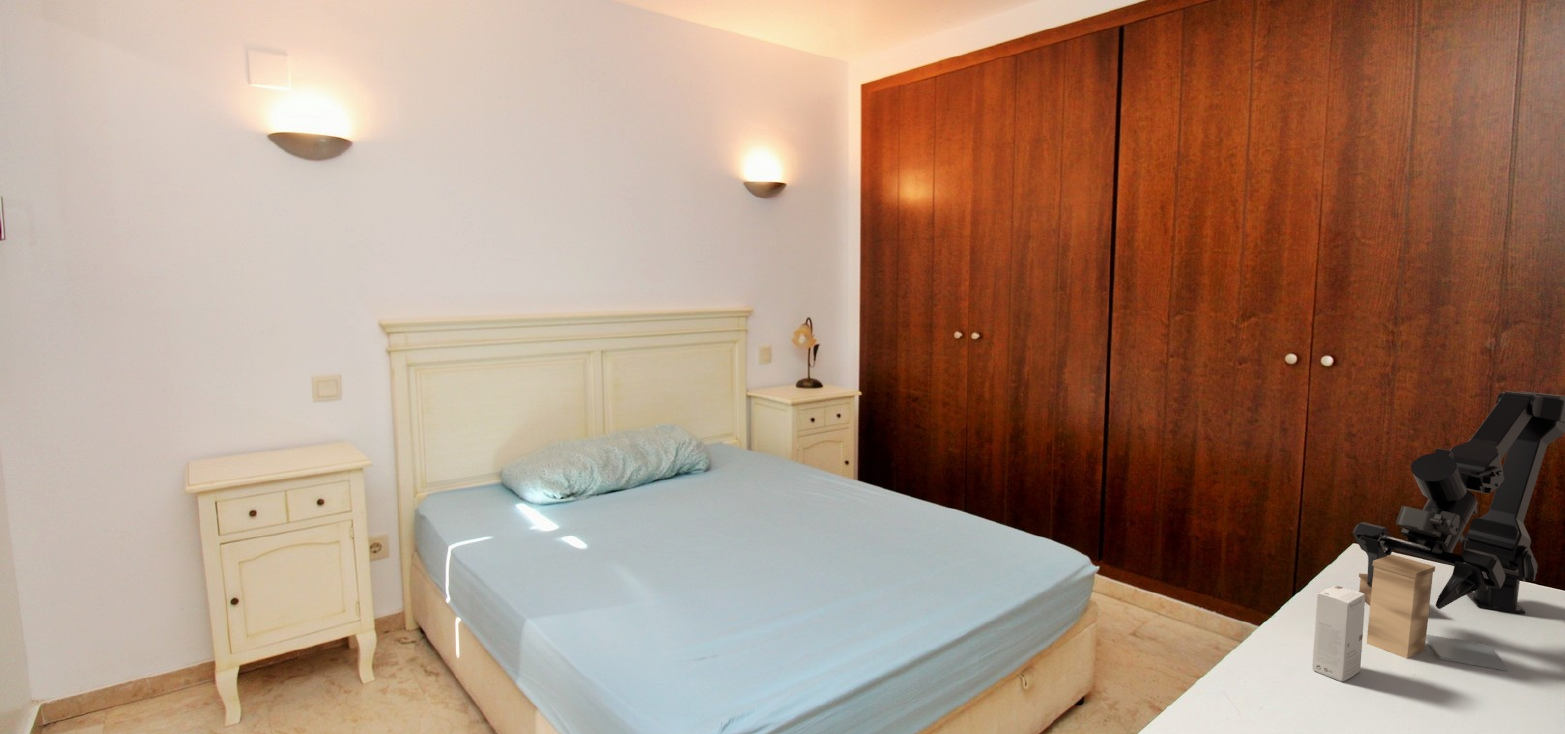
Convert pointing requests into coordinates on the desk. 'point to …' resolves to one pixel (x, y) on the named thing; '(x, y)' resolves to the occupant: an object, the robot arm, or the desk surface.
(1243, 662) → the desk surface
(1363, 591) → the walnut trinket box
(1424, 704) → the desk surface
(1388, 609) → the oak tea canister
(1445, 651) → the coaster
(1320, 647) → the skincare box
